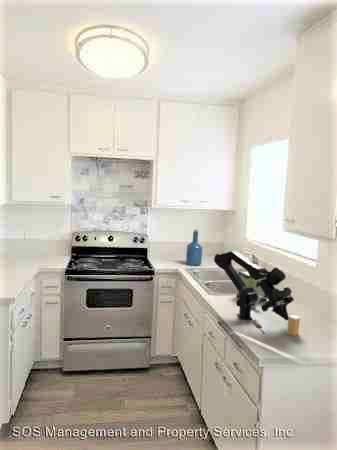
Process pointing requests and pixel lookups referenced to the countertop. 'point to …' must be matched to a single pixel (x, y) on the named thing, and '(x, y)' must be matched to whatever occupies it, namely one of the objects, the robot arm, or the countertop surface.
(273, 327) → the countertop surface
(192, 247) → the wine bottle
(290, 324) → the lidded box
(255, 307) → the lighter
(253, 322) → the wooden handled tool
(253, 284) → the protein box
